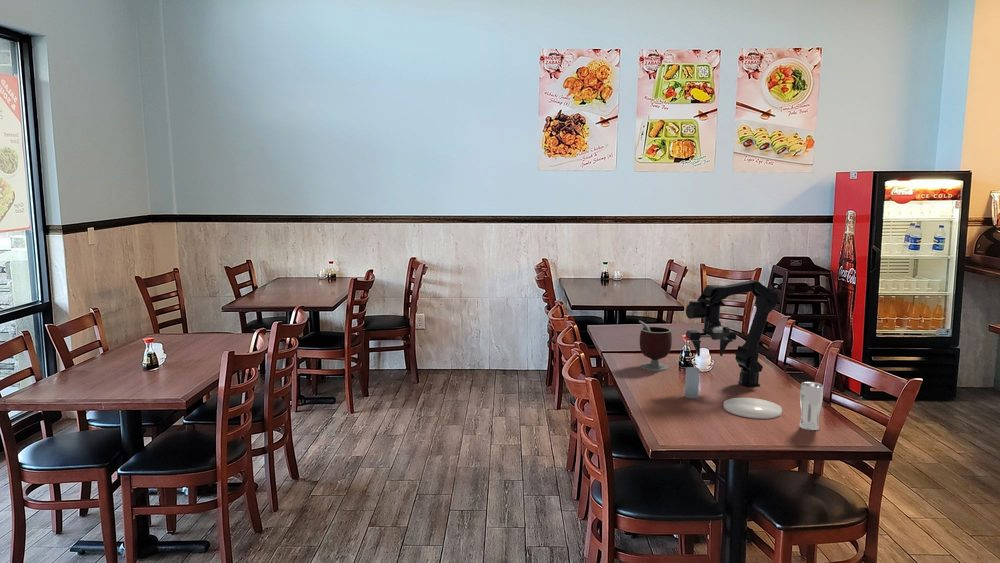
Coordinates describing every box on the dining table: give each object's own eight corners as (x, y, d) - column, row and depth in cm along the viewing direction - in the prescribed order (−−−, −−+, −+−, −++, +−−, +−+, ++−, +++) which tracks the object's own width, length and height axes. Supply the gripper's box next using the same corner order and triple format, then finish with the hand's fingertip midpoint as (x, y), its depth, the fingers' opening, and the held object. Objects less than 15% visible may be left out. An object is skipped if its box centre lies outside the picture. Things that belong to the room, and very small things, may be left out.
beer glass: (807, 432, 231) (810, 388, 228) (793, 425, 237) (796, 382, 235) (825, 430, 232) (828, 386, 230) (810, 423, 239) (813, 380, 237)
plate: (764, 399, 264) (764, 396, 264) (793, 417, 245) (793, 414, 245) (714, 401, 262) (714, 398, 262) (738, 419, 242) (739, 416, 242)
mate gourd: (676, 367, 310) (678, 322, 307) (660, 373, 300) (662, 327, 297) (645, 360, 320) (647, 318, 317) (629, 366, 310) (631, 322, 307)
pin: (695, 394, 271) (696, 366, 269) (700, 398, 266) (701, 370, 264) (682, 394, 270) (683, 367, 268) (687, 398, 265) (689, 370, 264)
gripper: (696, 321, 266) (694, 361, 268) (743, 321, 268) (741, 361, 270) (686, 316, 277) (684, 354, 279) (731, 315, 279) (729, 353, 281)
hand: (709, 356), depth 277 cm, fingers open, 9 cm apart
